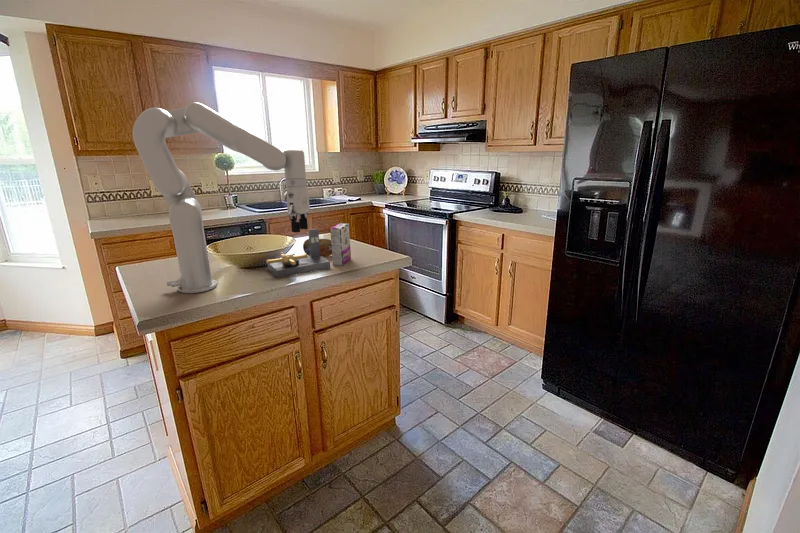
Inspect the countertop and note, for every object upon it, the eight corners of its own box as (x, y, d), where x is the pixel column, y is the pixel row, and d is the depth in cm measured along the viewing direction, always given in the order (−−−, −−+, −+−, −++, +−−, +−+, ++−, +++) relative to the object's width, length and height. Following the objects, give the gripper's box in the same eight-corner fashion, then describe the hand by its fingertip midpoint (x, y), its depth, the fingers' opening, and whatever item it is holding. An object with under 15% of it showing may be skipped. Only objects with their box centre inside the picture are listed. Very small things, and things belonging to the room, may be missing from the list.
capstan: (272, 273, 141) (271, 263, 140) (261, 262, 154) (260, 253, 153) (315, 265, 150) (314, 256, 149) (301, 256, 163) (300, 247, 162)
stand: (277, 277, 146) (273, 240, 142) (267, 269, 157) (263, 233, 153) (330, 268, 157) (328, 233, 153) (317, 260, 169) (315, 227, 164)
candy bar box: (340, 258, 172) (339, 223, 167) (351, 259, 171) (349, 223, 166) (331, 265, 162) (329, 227, 157) (342, 266, 161) (340, 228, 156)
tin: (303, 255, 177) (302, 238, 175) (306, 254, 180) (305, 237, 178) (333, 257, 174) (332, 239, 172) (336, 255, 177) (334, 238, 175)
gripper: (294, 185, 133) (298, 235, 138) (315, 181, 149) (318, 226, 154) (275, 185, 134) (280, 234, 139) (297, 181, 150) (301, 226, 156)
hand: (300, 230), depth 147 cm, fingers open, 5 cm apart
